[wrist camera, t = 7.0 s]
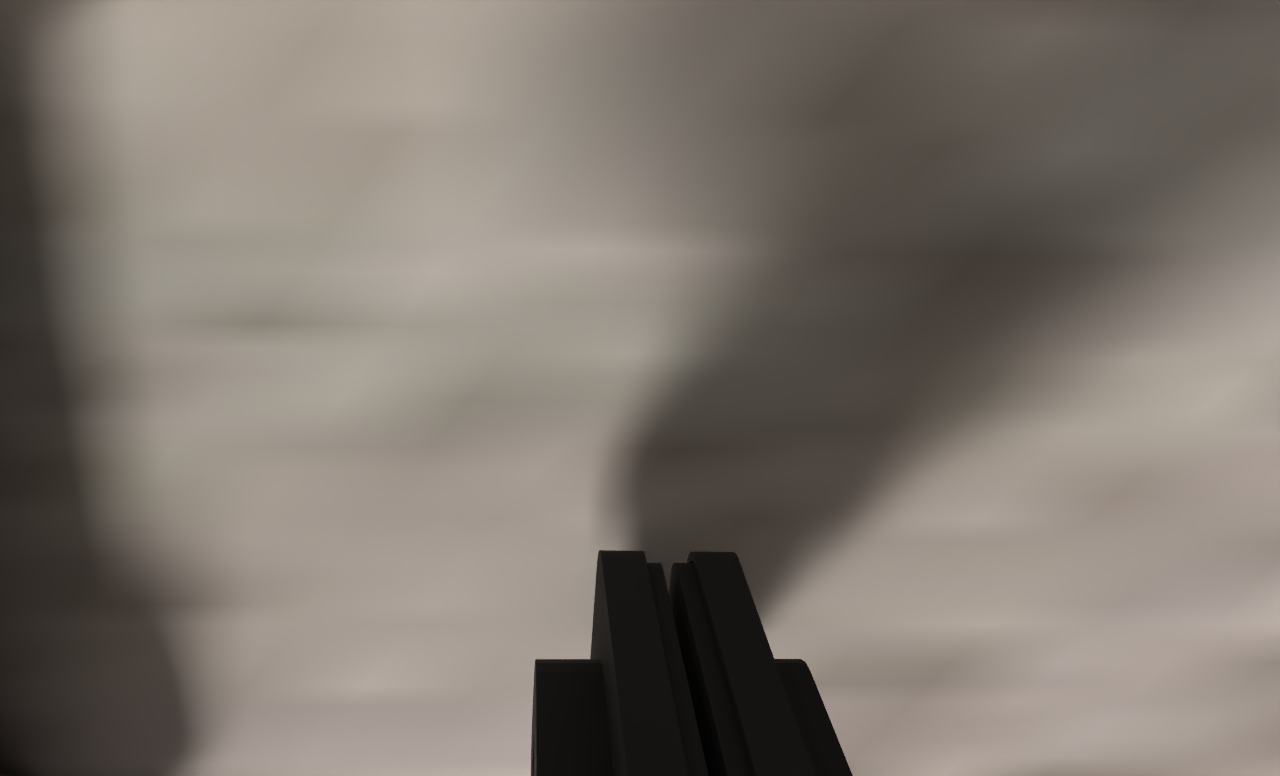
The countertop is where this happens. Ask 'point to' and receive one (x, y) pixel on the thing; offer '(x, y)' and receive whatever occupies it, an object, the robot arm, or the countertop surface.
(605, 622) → the robot arm
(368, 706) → the countertop surface
